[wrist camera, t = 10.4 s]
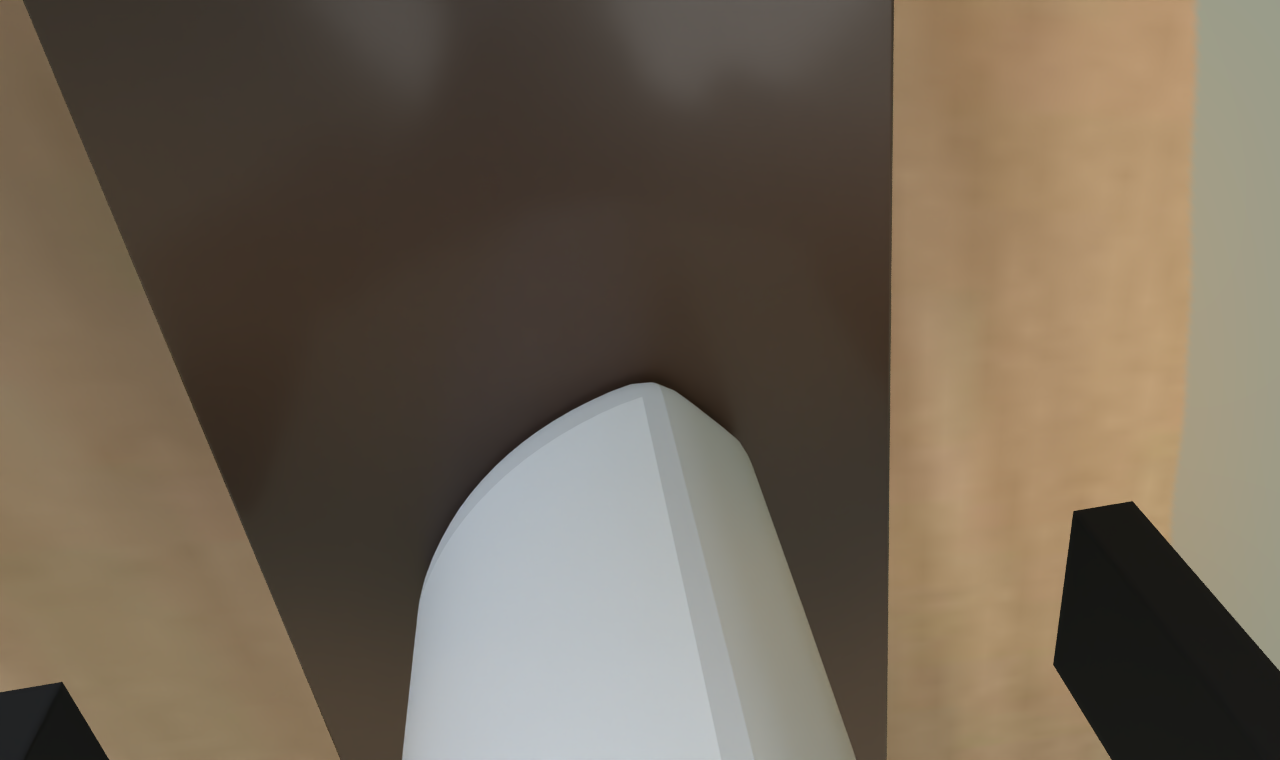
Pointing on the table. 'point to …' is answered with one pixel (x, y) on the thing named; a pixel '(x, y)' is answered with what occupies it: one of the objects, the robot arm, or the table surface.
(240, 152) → the dark brown wooden stand
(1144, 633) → the robot arm
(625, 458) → the eye dropper bottle
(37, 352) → the table surface
